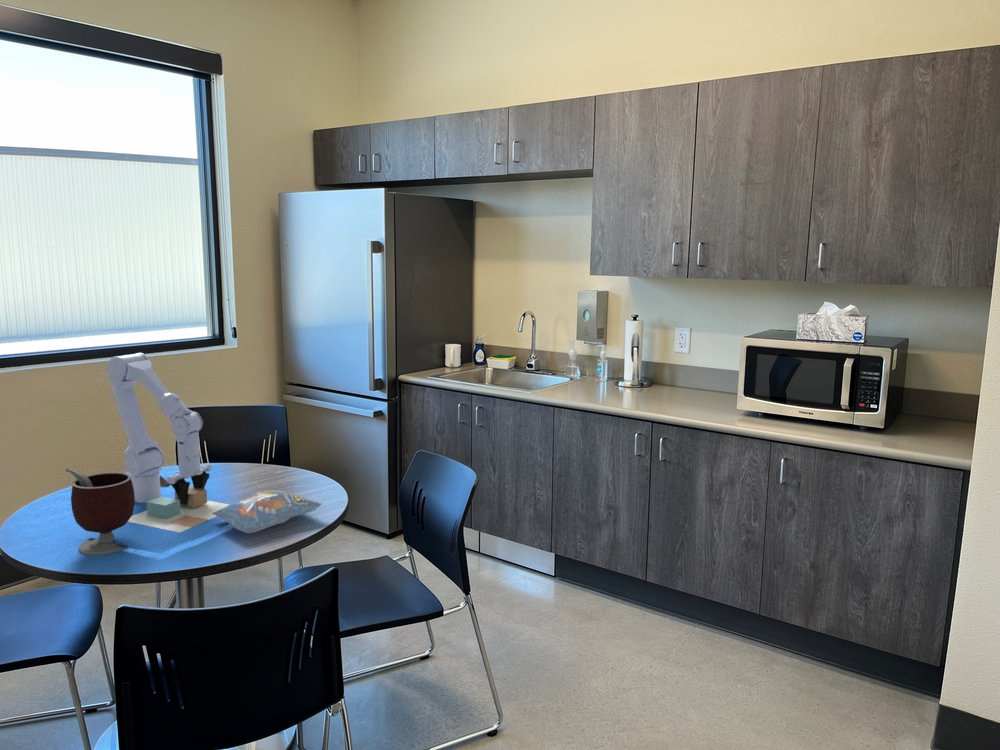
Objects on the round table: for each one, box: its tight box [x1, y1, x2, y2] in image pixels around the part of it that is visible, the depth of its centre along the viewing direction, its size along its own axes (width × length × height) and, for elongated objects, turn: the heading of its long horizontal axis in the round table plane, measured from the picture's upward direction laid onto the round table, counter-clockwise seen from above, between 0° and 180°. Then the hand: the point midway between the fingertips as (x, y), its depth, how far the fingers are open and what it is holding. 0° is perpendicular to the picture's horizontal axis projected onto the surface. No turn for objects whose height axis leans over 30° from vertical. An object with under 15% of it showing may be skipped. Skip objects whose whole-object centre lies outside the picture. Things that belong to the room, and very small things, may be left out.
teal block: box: [145, 496, 181, 519], centre depth 202 cm, size 7×5×4 cm
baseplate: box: [127, 500, 230, 533], centre depth 203 cm, size 21×22×1 cm
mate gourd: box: [65, 467, 136, 556], centre depth 182 cm, size 16×14×20 cm
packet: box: [211, 490, 323, 534], centre depth 200 cm, size 17×24×8 cm
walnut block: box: [174, 486, 208, 508], centre depth 209 cm, size 7×5×4 cm
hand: (191, 501), depth 210 cm, fingers closed on walnut block, 5 cm apart
